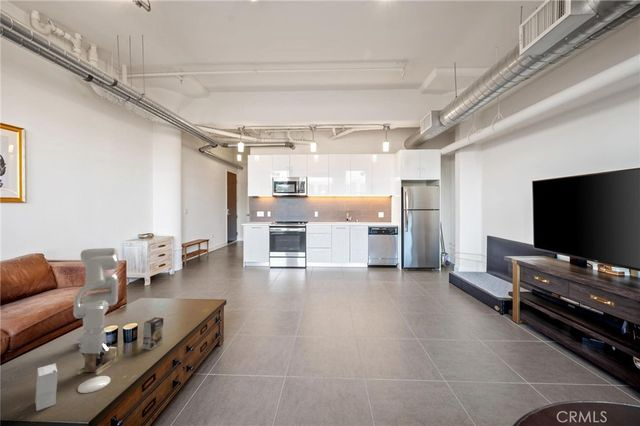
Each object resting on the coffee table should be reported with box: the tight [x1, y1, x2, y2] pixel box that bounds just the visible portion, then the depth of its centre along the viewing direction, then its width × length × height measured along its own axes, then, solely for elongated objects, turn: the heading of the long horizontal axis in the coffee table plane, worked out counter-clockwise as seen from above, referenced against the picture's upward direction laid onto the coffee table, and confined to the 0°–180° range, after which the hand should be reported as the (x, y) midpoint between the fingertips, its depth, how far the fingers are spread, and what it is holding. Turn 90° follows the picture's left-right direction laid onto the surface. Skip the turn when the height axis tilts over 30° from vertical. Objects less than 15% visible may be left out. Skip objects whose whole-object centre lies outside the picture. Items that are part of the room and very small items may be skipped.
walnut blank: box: [83, 354, 103, 373], centre depth 139 cm, size 5×5×9 cm
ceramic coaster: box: [77, 375, 111, 394], centre depth 128 cm, size 12×12×1 cm
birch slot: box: [77, 346, 118, 376], centre depth 142 cm, size 10×12×8 cm
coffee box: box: [142, 316, 164, 351], centre depth 166 cm, size 9×6×16 cm
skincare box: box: [34, 363, 59, 412], centre depth 115 cm, size 8×6×15 cm
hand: (93, 364), depth 139 cm, fingers closed on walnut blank, 5 cm apart
